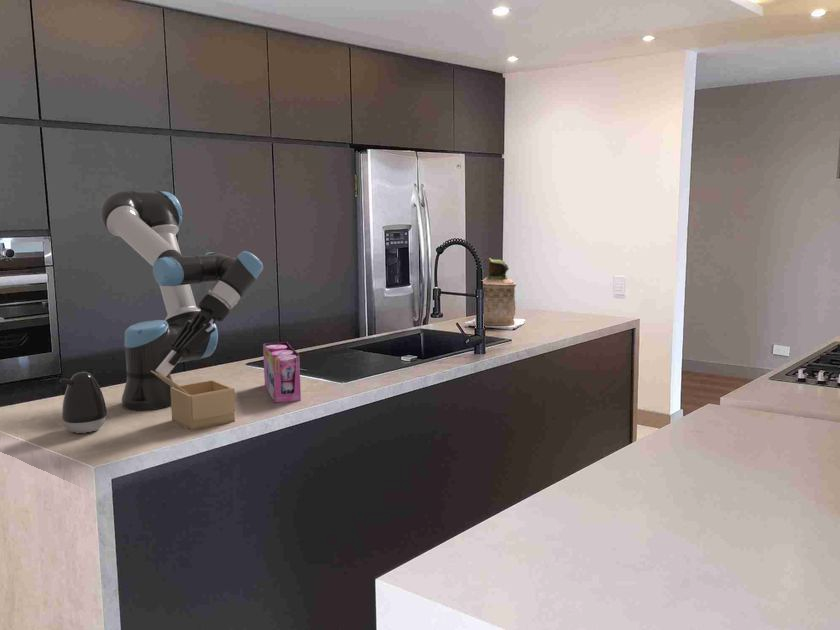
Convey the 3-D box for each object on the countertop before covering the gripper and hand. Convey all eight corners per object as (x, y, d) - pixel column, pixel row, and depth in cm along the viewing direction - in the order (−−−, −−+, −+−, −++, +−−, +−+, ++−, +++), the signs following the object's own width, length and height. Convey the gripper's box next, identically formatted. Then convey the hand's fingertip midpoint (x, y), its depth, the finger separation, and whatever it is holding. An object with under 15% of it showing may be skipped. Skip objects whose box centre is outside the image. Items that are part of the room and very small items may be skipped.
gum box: (302, 402, 207) (301, 356, 205) (275, 404, 205) (273, 358, 203) (288, 383, 230) (287, 341, 228) (263, 385, 227) (262, 343, 225)
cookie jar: (515, 330, 326) (516, 260, 321) (463, 327, 334) (464, 259, 329) (526, 322, 348) (528, 256, 344) (478, 319, 357) (479, 255, 352)
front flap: (171, 385, 188) (170, 386, 188) (151, 370, 184) (150, 371, 184) (189, 393, 180) (188, 394, 180) (168, 378, 176) (168, 379, 176)
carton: (171, 419, 190) (169, 386, 189) (215, 411, 198) (213, 379, 197) (192, 431, 180) (190, 396, 179) (237, 421, 189) (235, 388, 187)
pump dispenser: (56, 431, 181) (51, 372, 178) (97, 421, 188) (93, 365, 186) (72, 439, 174) (67, 379, 171) (114, 430, 181) (110, 371, 179)
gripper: (240, 313, 185) (181, 387, 177) (217, 308, 195) (161, 377, 187) (220, 295, 181) (159, 369, 173) (198, 290, 191) (139, 361, 182)
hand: (160, 373), depth 180 cm, fingers closed
